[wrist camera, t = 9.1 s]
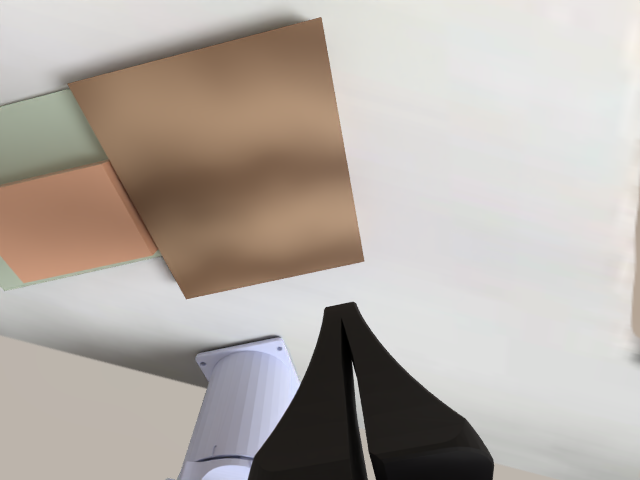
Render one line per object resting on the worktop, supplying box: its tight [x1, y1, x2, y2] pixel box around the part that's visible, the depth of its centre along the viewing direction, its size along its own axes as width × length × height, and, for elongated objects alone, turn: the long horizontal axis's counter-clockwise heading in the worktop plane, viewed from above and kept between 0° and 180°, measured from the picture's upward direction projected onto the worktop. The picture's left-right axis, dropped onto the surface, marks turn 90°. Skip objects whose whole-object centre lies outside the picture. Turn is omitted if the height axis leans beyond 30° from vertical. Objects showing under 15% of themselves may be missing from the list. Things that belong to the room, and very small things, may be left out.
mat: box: [0, 89, 162, 291], centre depth 19 cm, size 11×13×1 cm
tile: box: [0, 159, 158, 283], centre depth 19 cm, size 6×9×2 cm, turn 102°
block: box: [68, 17, 364, 299], centre depth 18 cm, size 14×13×2 cm
